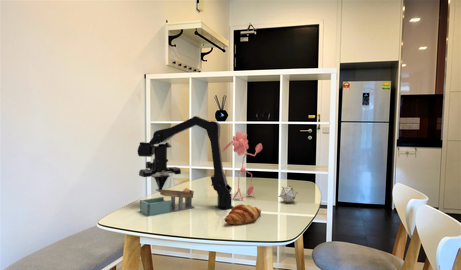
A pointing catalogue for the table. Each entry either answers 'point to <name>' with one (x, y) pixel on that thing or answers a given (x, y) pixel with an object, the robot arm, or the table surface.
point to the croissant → (242, 214)
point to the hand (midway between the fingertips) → (160, 190)
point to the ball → (186, 190)
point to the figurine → (241, 147)
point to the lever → (175, 193)
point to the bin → (155, 206)
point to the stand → (181, 204)
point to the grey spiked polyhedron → (288, 194)
